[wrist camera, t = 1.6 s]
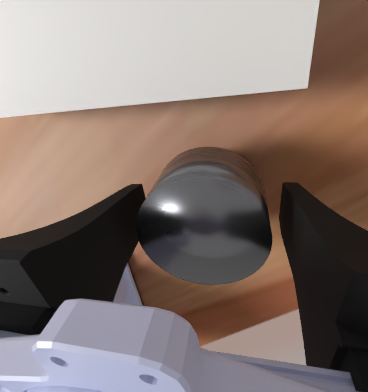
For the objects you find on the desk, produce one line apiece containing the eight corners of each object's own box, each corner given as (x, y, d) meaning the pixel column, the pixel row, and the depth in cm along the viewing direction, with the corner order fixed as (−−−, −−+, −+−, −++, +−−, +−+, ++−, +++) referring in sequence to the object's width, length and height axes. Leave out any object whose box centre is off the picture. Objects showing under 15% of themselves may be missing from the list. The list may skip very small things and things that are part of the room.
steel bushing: (258, 211, 15) (267, 289, 11) (176, 210, 17) (150, 279, 12) (263, 126, 13) (278, 179, 8) (163, 132, 14) (121, 181, 9)
